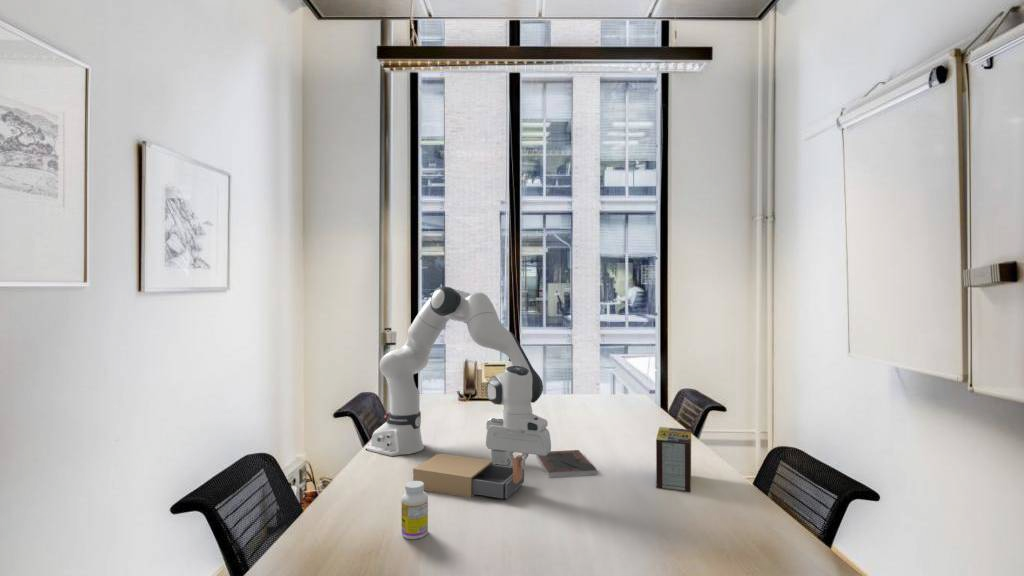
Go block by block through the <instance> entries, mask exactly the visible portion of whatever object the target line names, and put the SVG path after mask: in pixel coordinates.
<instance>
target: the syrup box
mask: <svg viewBox="0 0 1024 576" xmlns="http://www.w3.org/2000/svg"><path fill="white" fill-rule="evenodd" d="M490 451H491V457H490V458H491V460H490V461H493V465H495V464H499V466H507V465H508V464H509V462H511V460H510V459H509V457H508V455H507V451H502V450H494V449H490Z"/></svg>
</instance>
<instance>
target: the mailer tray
mask: <svg viewBox="0 0 1024 576" xmlns="http://www.w3.org/2000/svg"><path fill="white" fill-rule="evenodd" d="M522 459H523V456H522V454H518V455H517V456H515V457H514V459H513V466H507V465H495V464H493V465H492V464H490V465H489V466H488V467H486V468H485V469H484V470H483V471H481V472H480V473H479V474H477V475H476V476H475V477H473V478H472V494H474V495H480V496H485V497H491V498H497V499H504V498H505V499H509V497H510V496H511V495H512V494H513V493H514V492H516V490H517V489H518V488H520V487H521V486H522V484H523V483H525V467H524V468H523V467H519V461H520V460H522Z"/></svg>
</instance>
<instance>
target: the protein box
mask: <svg viewBox="0 0 1024 576" xmlns="http://www.w3.org/2000/svg"><path fill="white" fill-rule="evenodd" d="M655 444H656V445H655V446H656V451H655V452H656V453H655V455H656V457H655V461H656V462H655V463H656V464H655V468H656V469H655V472H656V473H655V475H656V477H655V478H656V481H655V482H656V484H655V485H656V487H655V489H659V490H660V489H661V490H668V491H678V492H687V493H691V491H692V489H691V488H692V429H691V428H690V429H687V428H677V427H666V426H665V427H664V426H659V427H658V431H657V435H656V439H655Z"/></svg>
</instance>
